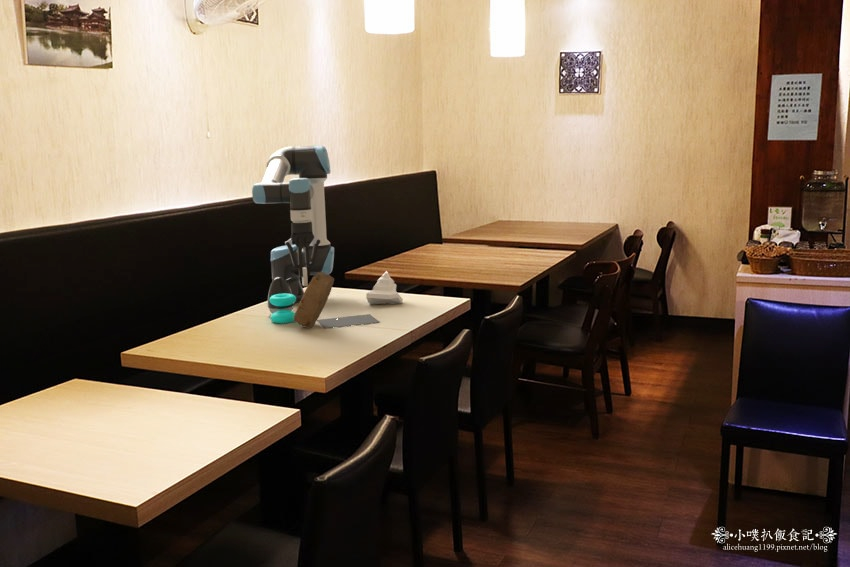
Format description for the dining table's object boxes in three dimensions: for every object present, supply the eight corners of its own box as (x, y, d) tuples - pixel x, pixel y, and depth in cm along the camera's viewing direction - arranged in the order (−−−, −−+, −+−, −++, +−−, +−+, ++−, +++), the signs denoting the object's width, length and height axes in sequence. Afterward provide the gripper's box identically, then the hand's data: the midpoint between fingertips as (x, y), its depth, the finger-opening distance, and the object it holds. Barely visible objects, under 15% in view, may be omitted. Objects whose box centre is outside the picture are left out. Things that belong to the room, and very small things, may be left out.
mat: (316, 320, 301) (316, 319, 301) (369, 314, 308) (369, 314, 308) (324, 328, 288) (324, 328, 288) (380, 322, 295) (380, 321, 295)
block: (306, 330, 286) (329, 283, 280) (289, 320, 287) (311, 273, 281) (318, 323, 296) (339, 278, 291) (301, 313, 297) (322, 268, 292)
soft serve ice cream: (366, 305, 332) (367, 271, 333) (401, 306, 333) (403, 273, 334) (366, 303, 320) (367, 269, 321) (403, 305, 321) (404, 270, 322)
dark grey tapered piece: (298, 315, 310) (295, 277, 307) (272, 318, 306) (269, 280, 303) (290, 310, 319) (288, 273, 316) (265, 313, 315) (262, 276, 312)
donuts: (301, 295, 299) (278, 299, 293) (302, 320, 301) (279, 325, 295) (286, 291, 307) (264, 295, 300) (288, 316, 309) (265, 321, 302)
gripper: (285, 223, 280) (289, 288, 284) (321, 221, 284) (324, 285, 288) (281, 221, 287) (285, 285, 291) (317, 219, 291) (320, 282, 295)
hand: (305, 285), depth 290 cm, fingers closed
